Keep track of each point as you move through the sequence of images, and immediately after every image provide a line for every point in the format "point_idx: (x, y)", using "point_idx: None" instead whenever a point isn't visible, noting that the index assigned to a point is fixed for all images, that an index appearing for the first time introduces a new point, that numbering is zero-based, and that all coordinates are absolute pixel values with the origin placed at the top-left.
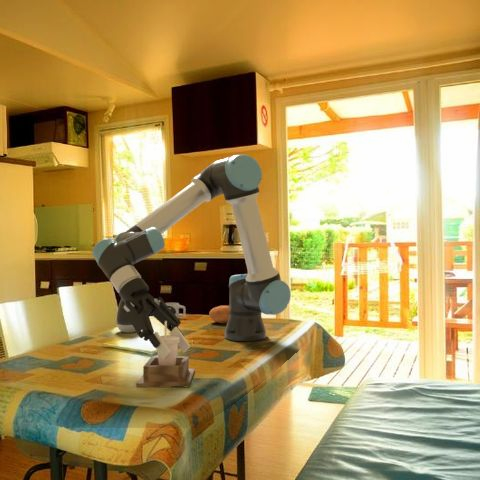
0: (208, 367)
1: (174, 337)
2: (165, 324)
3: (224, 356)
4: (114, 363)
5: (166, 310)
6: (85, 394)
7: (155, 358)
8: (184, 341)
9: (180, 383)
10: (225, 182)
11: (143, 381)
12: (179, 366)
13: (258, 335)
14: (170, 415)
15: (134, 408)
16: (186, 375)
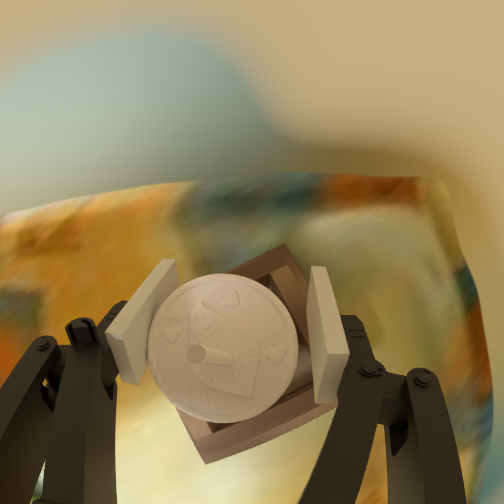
0: (92, 298)
1: (204, 304)
2: (213, 352)
3: (7, 306)
4: None
5: (4, 448)
6: (457, 443)
7: (212, 431)
8: (164, 278)
9: (296, 265)
10: None
11: None
12: (281, 264)
13: None
14: (439, 185)
15: (463, 269)
16: None
